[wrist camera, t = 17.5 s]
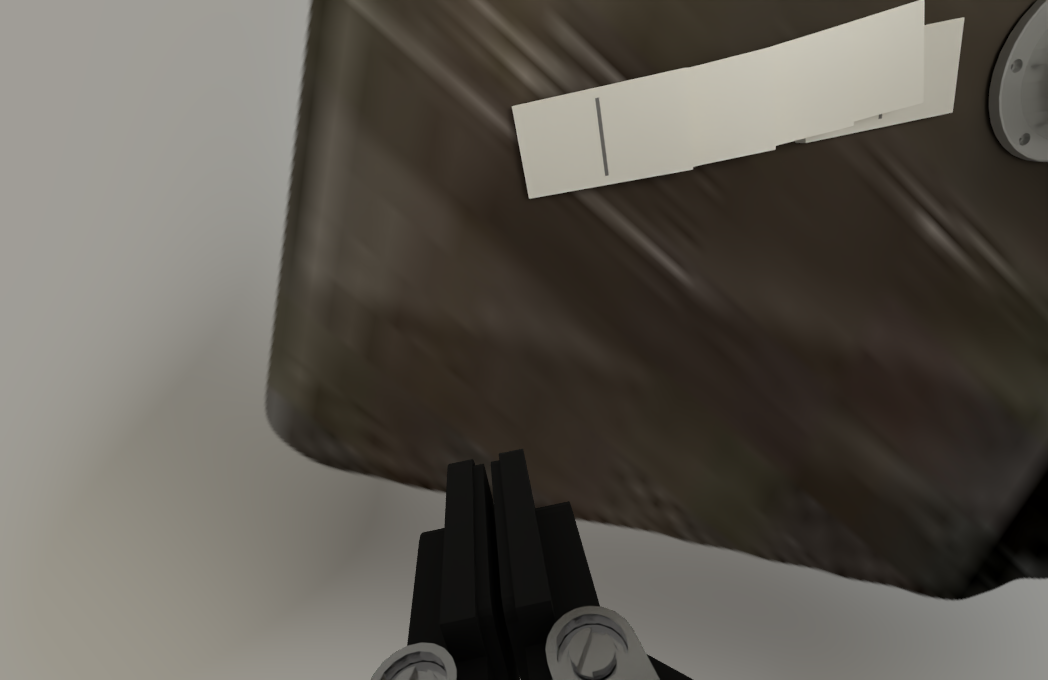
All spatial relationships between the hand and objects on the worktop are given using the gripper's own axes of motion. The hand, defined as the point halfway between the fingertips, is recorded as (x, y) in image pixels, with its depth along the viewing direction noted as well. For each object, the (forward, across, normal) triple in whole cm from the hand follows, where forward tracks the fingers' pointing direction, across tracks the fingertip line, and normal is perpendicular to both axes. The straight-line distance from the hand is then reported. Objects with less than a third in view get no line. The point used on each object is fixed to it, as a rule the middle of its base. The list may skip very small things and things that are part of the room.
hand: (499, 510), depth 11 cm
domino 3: (+28, -15, -6) cm, 32 cm away
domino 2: (+28, -10, -6) cm, 31 cm away
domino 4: (+28, -20, -6) cm, 35 cm away
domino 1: (+28, -4, -6) cm, 29 cm away
